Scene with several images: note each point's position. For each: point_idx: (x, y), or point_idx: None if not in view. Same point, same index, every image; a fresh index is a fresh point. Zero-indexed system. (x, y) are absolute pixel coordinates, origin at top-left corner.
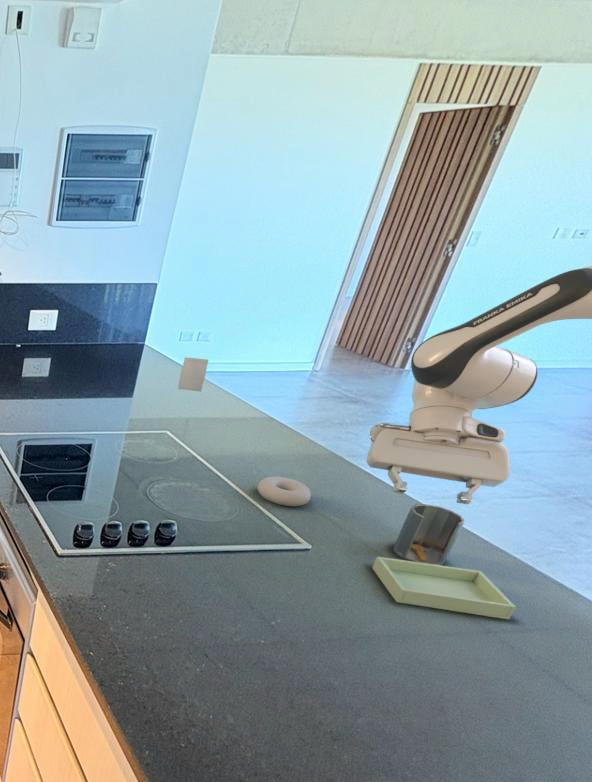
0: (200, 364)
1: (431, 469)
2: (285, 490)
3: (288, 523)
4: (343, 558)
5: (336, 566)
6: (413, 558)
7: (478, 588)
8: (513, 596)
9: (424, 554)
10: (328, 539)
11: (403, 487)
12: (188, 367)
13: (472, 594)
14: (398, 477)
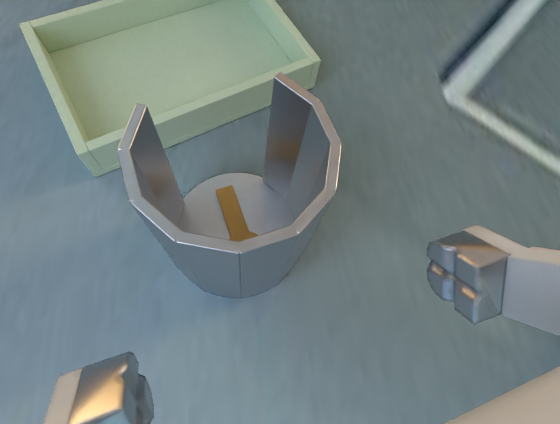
0: None
1: (476, 413)
2: None
3: (545, 179)
4: (374, 90)
5: (370, 49)
6: (245, 182)
7: (89, 134)
8: (5, 172)
9: (223, 212)
10: (438, 161)
11: (457, 240)
12: None
13: (106, 94)
14: (554, 260)
